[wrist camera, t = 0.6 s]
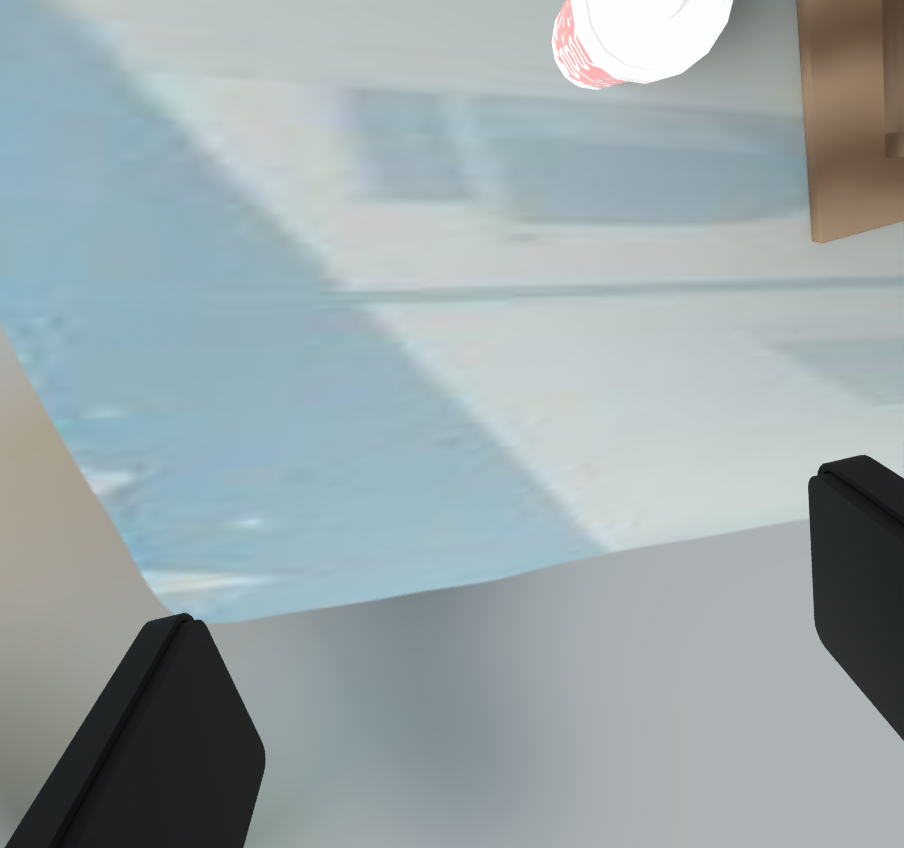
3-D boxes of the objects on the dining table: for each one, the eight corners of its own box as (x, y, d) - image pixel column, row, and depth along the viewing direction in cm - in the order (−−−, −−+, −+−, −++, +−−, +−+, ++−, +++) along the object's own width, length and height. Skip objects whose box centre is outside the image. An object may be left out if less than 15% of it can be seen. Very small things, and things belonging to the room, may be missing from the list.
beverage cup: (517, 5, 32) (579, -116, 19) (633, -59, 31) (781, -231, 18) (564, 127, 34) (649, 95, 21) (673, 70, 33) (833, 1, 20)
